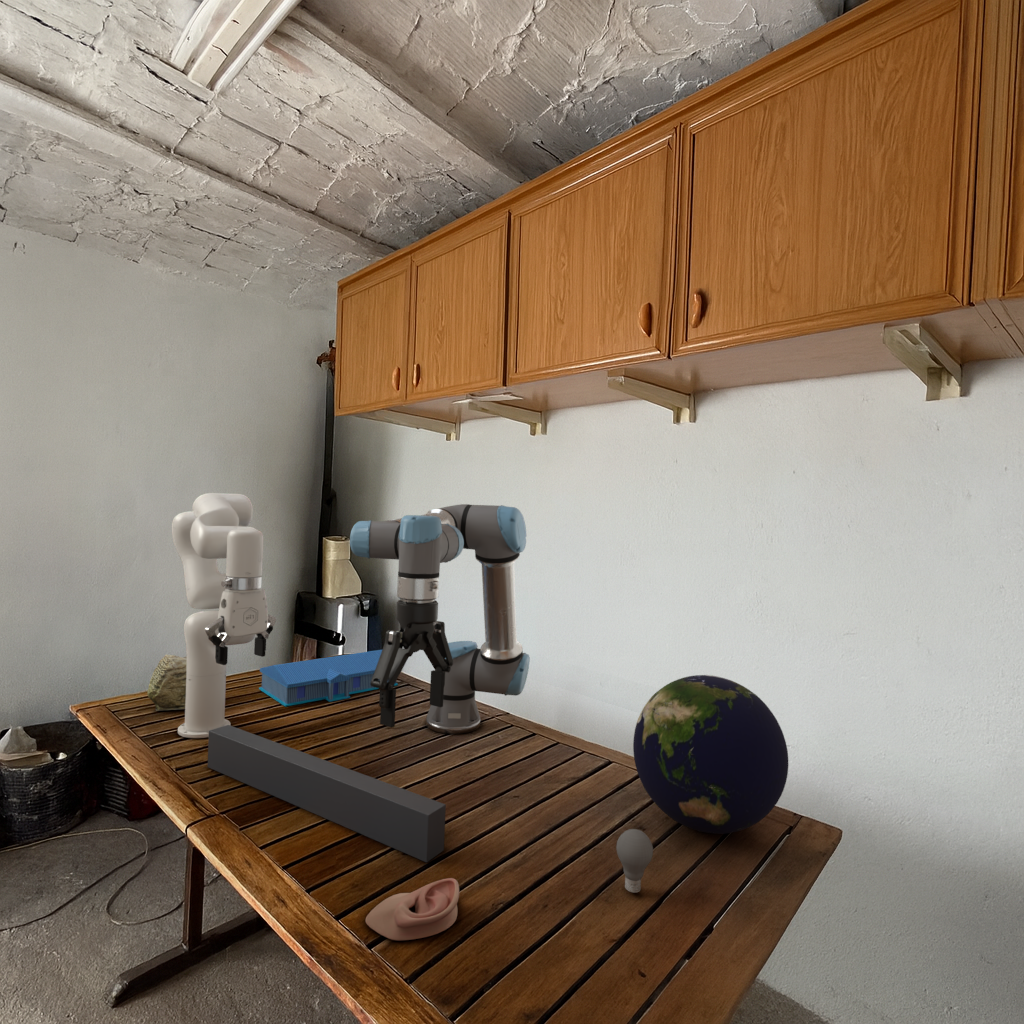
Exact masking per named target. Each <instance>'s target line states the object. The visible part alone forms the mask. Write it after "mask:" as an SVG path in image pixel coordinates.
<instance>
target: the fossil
mask: <svg viewBox="0 0 1024 1024" xmlns="http://www.w3.org/2000/svg"><path fill="white" fill-rule="evenodd" d="M186 668H187V656H183V657H182V656H178V655H175V654H174V655H173V654H165V655H164V656H163V657H162V658H161V659H160V660H159V662H158V663H157V666H156V667H155V669H154V670H153V672H152V675H151V677H150V680H149V684H148V688H147V697H148V699H149V700H150V701H152V703H153V704H154V706H155V711H158V712H159V711H162V712H163V711H177V710H185V701H186Z"/></svg>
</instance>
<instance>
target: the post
mask: <svg viewBox="0 0 1024 1024" xmlns="http://www.w3.org/2000/svg"><path fill="white" fill-rule="evenodd" d="M207 768H209V769H211V770H213V771H216V772H218V773H220V774H222V775H225V776H227V777H229V778H231V779H233V780H236V781H238V782H240V783H243V784H245V785H248V786H250V787H252V788H254V789H257V790H259V791H261V792H264V793H265V794H268V795H271V796H273V797H275V798H276V799H280V800H282V801H285V802H287V803H289V804H291V805H292V806H293V805H294V806H295V807H298V808H300V809H303V810H304V811H307V812H310V813H312V814H314V815H317V816H318V817H321V818H323V819H325V820H328V821H330V822H332V823H334V824H337V825H339V826H341V827H344V828H346V829H349V830H351V831H353V832H355V833H357V834H360V835H362V836H364V837H366V838H369V839H371V840H374V841H375V842H378V843H381V844H383V845H385V846H387V847H389V848H392V849H394V850H396V851H399V852H400V853H404V854H405V855H408V856H410V857H413V858H416V859H417V860H420V861H421V862H425V863H428V862H430V861H431V860H432V859H434V858H435V857H436V856H438V855H439V854H440V853H442V852H443V851H445V836H446V835H445V830H446V809H447V804H445V803H443V802H440V801H438V800H435V799H433V798H432V799H431V798H429V797H427V796H424V795H422V794H418V793H416V792H414V791H413V792H412V791H410V790H408V789H405V788H402V787H399V786H396V785H394V784H391V783H388V782H385V781H383V780H380V779H377V778H375V777H372V776H369V775H366V774H363V773H361V772H358V771H355V770H353V769H350V768H347V767H345V766H342V765H340V764H336V763H334V762H331V761H329V760H325V759H324V758H323V759H322V758H320V757H318V756H315V755H312V754H309V753H306V752H303V751H301V750H298V749H295V748H293V747H290V746H287V745H284V744H282V743H280V742H276V741H274V740H271V739H268V738H266V737H263V736H260V735H257V734H254V733H252V732H249V731H246V730H244V729H241V728H238V727H235V726H232V725H231V726H230V725H226V726H223V727H220V728H216V729H213V730H210V731H209V737H208V744H207Z"/></svg>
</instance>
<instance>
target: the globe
mask: <svg viewBox="0 0 1024 1024" xmlns="http://www.w3.org/2000/svg"><path fill="white" fill-rule="evenodd" d="M632 742H633V743H632V744H633V747H632V750H633V759H634V764H635V768H636V771H637V775H638V778H639V780H640V783H641V784H642V786H643V787H644V790H645V791H646V794H648V796H649V798H650V799H651V800H652V802H653V803H654V804H655V805H656V806H657V808H658V809H660V810H661V811H662V812H663V813H664V814H665V815H667V816H668V817H669V818H670V819H672V820H674V821H675V822H676V823H678V824H680V825H682V826H684V827H686V828H689V829H691V830H694V831H698V832H701V833H705V834H714V835H723V834H731V833H732V834H733V833H737V832H740V831H744V830H746V829H748V828H750V827H753V826H754V825H756V824H758V823H759V822H760V821H762V820H763V819H764V818H765V817H766V816H768V815H769V813H771V811H772V810H773V809H774V807H775V806H776V805H777V804H778V802H779V800H780V798H781V797H782V794H783V792H784V790H785V787H786V785H787V784H786V783H787V779H788V775H789V752H788V746H787V742H786V738H785V734H784V732H783V729H782V728H781V725H780V723H779V722H778V719H777V718H776V717H775V715H774V713H773V712H772V710H771V709H770V708H769V706H768V705H767V704H766V703H765V702H764V701H763V700H762V699H761V698H760V697H759V696H758V695H757V694H756V693H754V692H753V691H751V689H748V688H747V687H746V686H744V685H742V684H740V683H738V682H736V681H733V680H732V679H728V678H725V677H720V676H719V675H718V676H717V675H711V674H699V675H696V674H695V675H689V676H685V677H681V678H677V679H675V680H673V681H671V682H669V683H667V684H666V685H664V686H662V687H661V688H659V689H658V690H657V691H656V692H655V693H653V695H652V696H651V697H650V698H649V699H648V701H646V703H645V704H644V706H643V708H642V710H641V712H640V713H639V715H638V717H637V720H636V724H635V727H634V733H633V741H632Z"/></svg>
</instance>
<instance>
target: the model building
mask: <svg viewBox="0 0 1024 1024" xmlns="http://www.w3.org/2000/svg"><path fill="white" fill-rule="evenodd" d="M382 650H383V649H376V650H368V651H363V652H356V653H349V654H342V655H341V654H340V655H335V656H329V657H328V656H327V657H321V658H315V659H314V658H313V659H307V660H300V661H293V662H287V663H278V664H272V665H268V666H264V667H263V666H262V667H260V668H259V672H260V673H261V686H260V687H258V690H260V691H261V692H262V693H264V694H265V695H267V696H268V697H270V698H271V699H273V700H274V701H276V702H277V703H279V704H280V705H282V706H283V707H290V706H297V705H302V704H307V703H312V702H317V701H323V700H325V701H327V702H329V703H330V702H335V701H341V700H346V699H347V700H348V699H350V698H351V695H353V694H359V693H364V692H365V693H366V692H369V691H373V690H379V688H376V687H373V686H371V680H372V677H373V675H374V672H375V669H376V666H377V663H378V661H379V658H380V655H381V652H382ZM379 681H380V680H379ZM388 681H389V680H388ZM388 681H387V682H388ZM395 686H399V683H398V682H397V681H396V682H395V684H394V686H393V687H395Z"/></svg>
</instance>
